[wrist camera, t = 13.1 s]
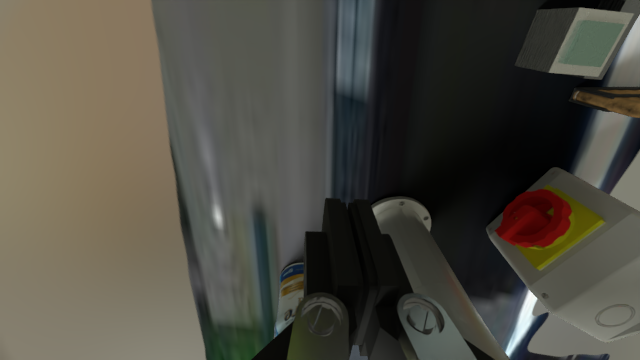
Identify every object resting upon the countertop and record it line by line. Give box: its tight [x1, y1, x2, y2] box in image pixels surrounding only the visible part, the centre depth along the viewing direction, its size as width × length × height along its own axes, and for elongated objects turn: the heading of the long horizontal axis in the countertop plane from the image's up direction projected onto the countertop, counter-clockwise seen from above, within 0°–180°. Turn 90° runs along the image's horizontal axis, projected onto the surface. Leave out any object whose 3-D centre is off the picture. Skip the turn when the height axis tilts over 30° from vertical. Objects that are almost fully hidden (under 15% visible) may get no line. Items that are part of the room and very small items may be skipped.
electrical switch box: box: [486, 167, 640, 343], centre depth 37 cm, size 15×15×20 cm
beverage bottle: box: [274, 263, 304, 337], centre depth 43 cm, size 8×8×20 cm
